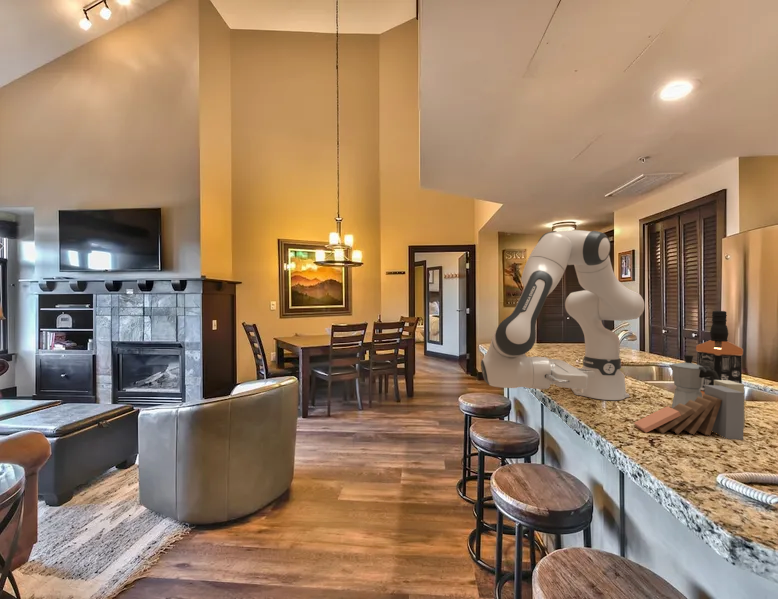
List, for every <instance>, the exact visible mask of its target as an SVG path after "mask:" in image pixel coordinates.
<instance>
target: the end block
mask: <svg viewBox="0 0 778 599" xmlns="http://www.w3.org/2000/svg"><path fill="white" fill-rule="evenodd" d="M705 394H706V395H709V396H712V397H715V398H718V399H721V400H722V402H721V405H720V408H719V411H718V414H717V417H716V420H715V423H714V425H713V428H712V431H713V432H715V433H717V434H719V435H721V436H723V437H725V438H724V439H726V438H728V439H727V440H741V441H742V440H744V429H745V427H744V407H745V392H744V393H743V392H740V391H736V390H733V389H730V388H727V387H723V386H718V385H705ZM713 432H712V433H713ZM715 433H714V434H715ZM717 434H716V435H717ZM719 435H718V436H719ZM721 436H720V437H721ZM723 437H722V438H723Z"/></svg>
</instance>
